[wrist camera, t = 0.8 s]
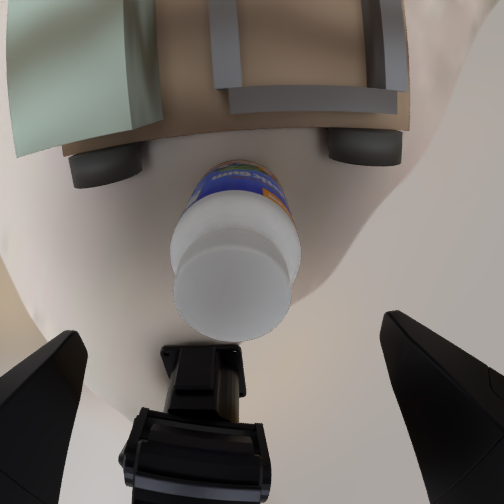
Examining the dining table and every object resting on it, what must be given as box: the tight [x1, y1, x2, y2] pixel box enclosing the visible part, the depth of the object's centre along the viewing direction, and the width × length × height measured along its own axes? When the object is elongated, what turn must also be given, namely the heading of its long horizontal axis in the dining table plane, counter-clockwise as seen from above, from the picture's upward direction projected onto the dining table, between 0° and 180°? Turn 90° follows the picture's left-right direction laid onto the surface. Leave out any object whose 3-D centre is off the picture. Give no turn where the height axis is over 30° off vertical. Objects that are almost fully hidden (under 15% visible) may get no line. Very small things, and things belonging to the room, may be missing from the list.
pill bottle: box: [170, 160, 301, 342], centre depth 15 cm, size 5×5×10 cm
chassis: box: [6, 0, 410, 189], centre depth 11 cm, size 14×20×6 cm
